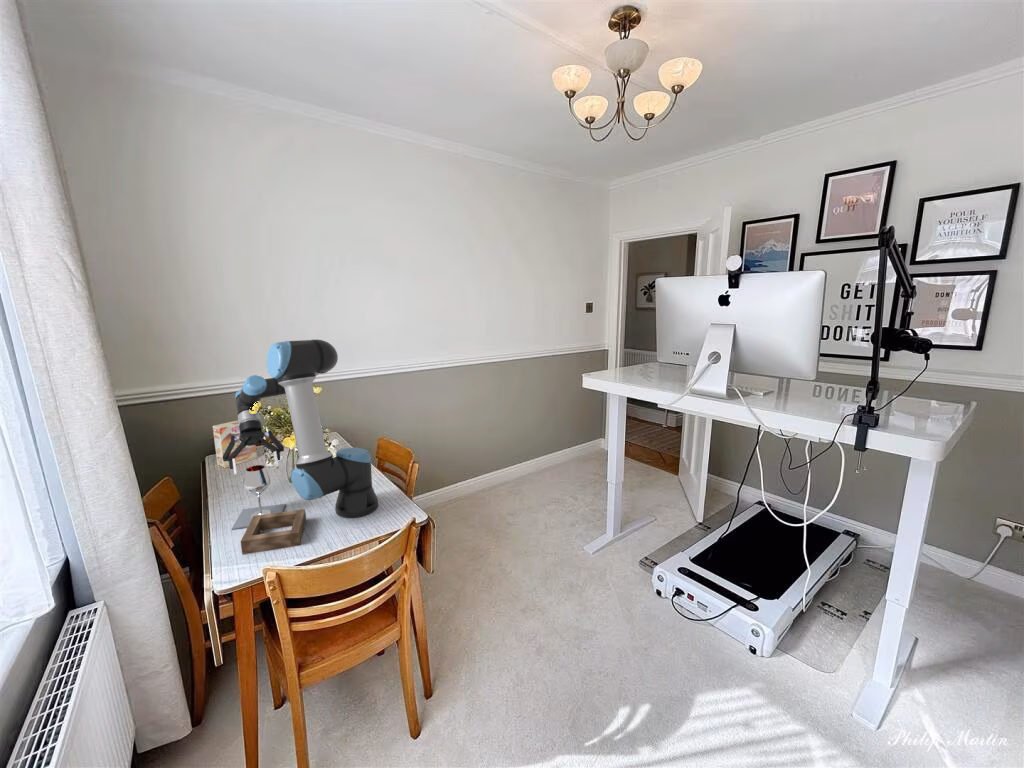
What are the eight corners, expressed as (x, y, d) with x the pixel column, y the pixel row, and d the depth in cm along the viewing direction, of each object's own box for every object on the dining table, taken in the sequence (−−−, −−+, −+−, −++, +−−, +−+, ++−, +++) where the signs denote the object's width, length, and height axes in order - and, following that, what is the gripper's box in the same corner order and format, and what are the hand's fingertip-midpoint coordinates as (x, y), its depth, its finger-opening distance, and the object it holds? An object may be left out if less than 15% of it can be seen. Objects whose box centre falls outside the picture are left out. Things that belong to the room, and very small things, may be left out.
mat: (285, 505, 159) (285, 503, 159) (278, 523, 146) (278, 521, 146) (243, 510, 154) (242, 509, 154) (232, 530, 141) (231, 528, 141)
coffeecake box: (224, 468, 192) (219, 428, 188) (217, 465, 196) (211, 425, 192) (257, 458, 205) (253, 420, 201) (250, 455, 208) (245, 418, 204)
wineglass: (278, 509, 154) (273, 463, 151) (266, 520, 146) (260, 472, 143) (256, 509, 154) (250, 463, 150) (242, 520, 146) (236, 473, 142)
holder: (306, 520, 148) (305, 508, 147) (299, 545, 133) (298, 532, 132) (254, 528, 143) (253, 516, 142) (242, 554, 128) (240, 541, 127)
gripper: (285, 423, 176) (293, 468, 167) (213, 434, 162) (217, 483, 153) (285, 414, 171) (294, 460, 161) (210, 424, 157) (215, 474, 147)
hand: (257, 471), depth 157 cm, fingers open, 13 cm apart
